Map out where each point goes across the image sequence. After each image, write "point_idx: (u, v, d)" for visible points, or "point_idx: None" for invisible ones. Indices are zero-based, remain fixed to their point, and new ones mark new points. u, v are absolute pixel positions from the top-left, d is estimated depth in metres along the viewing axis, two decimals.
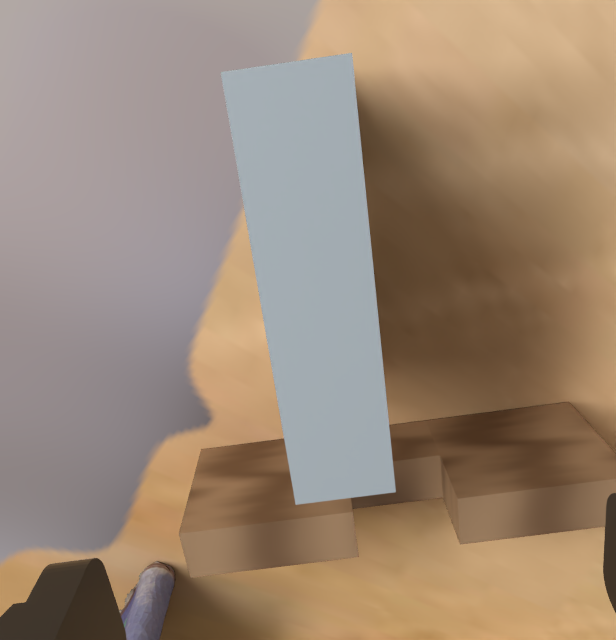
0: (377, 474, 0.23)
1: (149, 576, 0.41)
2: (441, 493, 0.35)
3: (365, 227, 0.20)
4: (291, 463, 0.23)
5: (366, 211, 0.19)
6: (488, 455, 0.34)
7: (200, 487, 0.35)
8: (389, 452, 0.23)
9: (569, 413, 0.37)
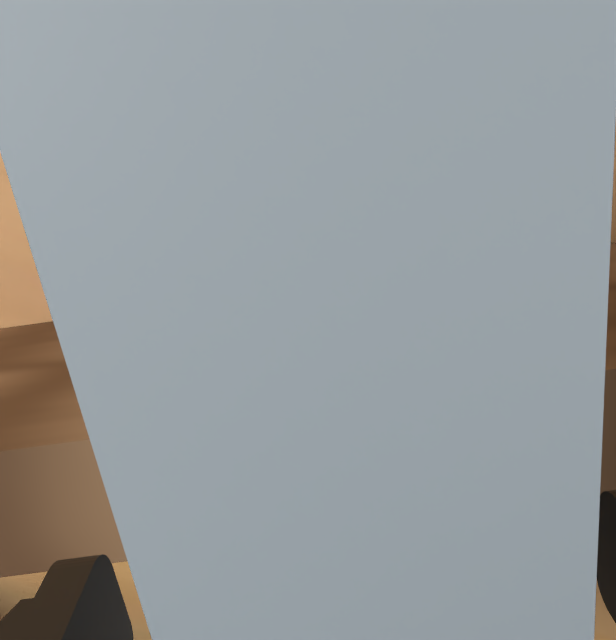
0: None
1: None
2: None
3: (582, 582, 0.05)
4: None
5: (594, 532, 0.05)
6: None
7: None
8: None
9: None
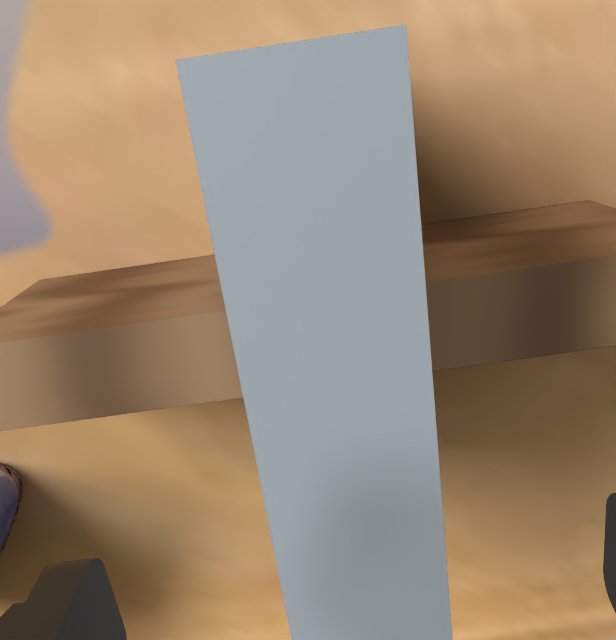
0: None
1: None
2: None
3: (421, 316, 0.12)
4: None
5: (424, 290, 0.12)
6: (465, 246, 0.21)
7: (9, 309, 0.22)
8: None
9: (591, 207, 0.24)
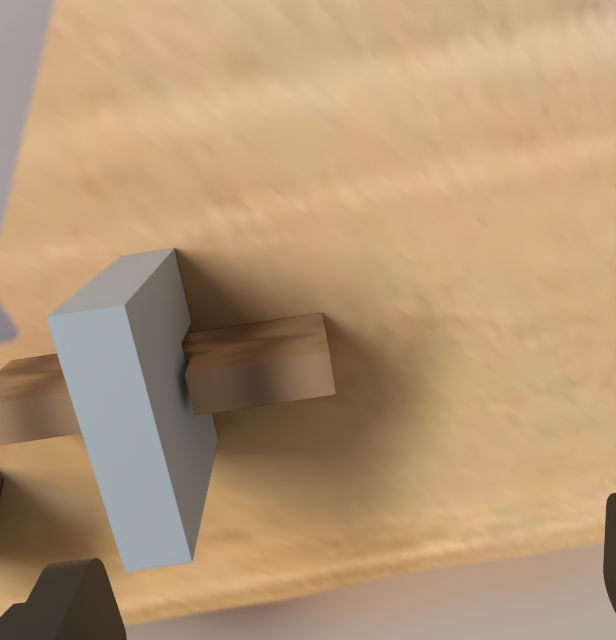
0: (177, 551, 0.34)
1: None
2: None
3: (146, 400, 0.31)
4: (118, 545, 0.34)
5: (146, 391, 0.31)
6: (230, 348, 0.41)
7: None
8: (183, 536, 0.34)
9: (316, 319, 0.44)
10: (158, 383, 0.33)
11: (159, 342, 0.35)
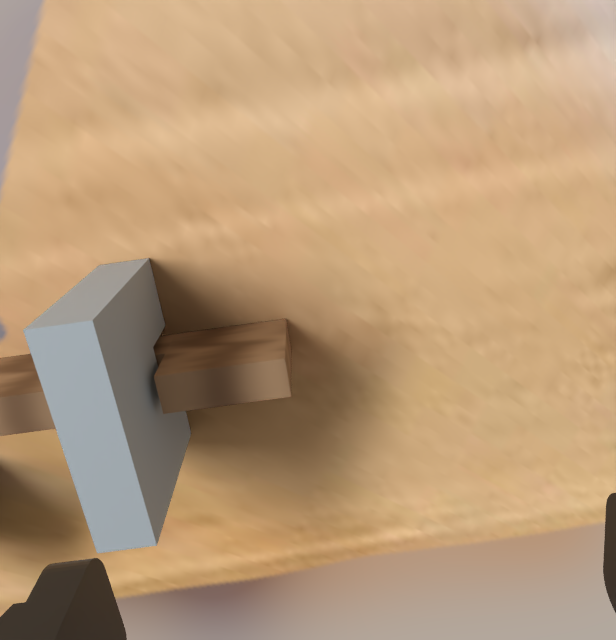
0: (143, 535, 0.39)
1: None
2: None
3: (113, 403, 0.35)
4: (91, 529, 0.38)
5: (113, 395, 0.35)
6: (198, 351, 0.44)
7: None
8: (148, 522, 0.38)
9: (279, 325, 0.47)
10: (126, 387, 0.37)
11: (128, 349, 0.39)
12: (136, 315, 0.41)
